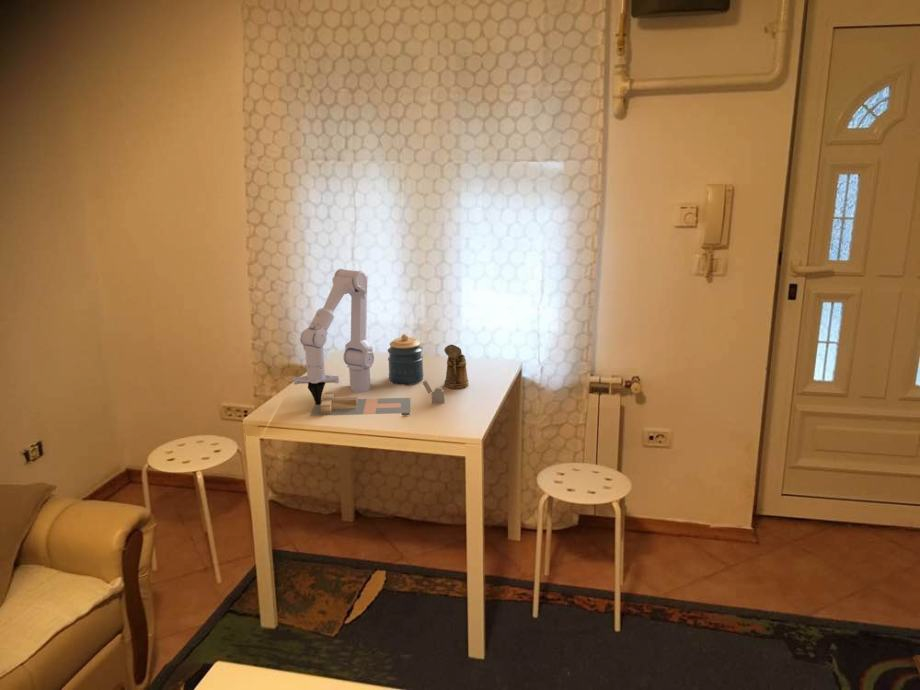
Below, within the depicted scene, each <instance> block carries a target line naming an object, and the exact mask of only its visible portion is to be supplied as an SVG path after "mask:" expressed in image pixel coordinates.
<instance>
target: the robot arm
mask: <svg viewBox="0 0 920 690" xmlns="http://www.w3.org/2000/svg"><path fill="white" fill-rule="evenodd" d="M344 295H349V296H350V298H351V300H350V301H351V306H350V318H351V319H350V341H348V342H347V343H346V344H345V345H344V347H345V348H344V352H343V355H342V356H343V362H344V363H345V364H346V365H347V368H348V371H349V387H350V391H351V392H356V393H363V392H367V391H371V387H372V386H374V384H373V383H371V371H370V370H371V369H370V368H371V367H372V366H373V365H374V361H375V355H374V351H373V350H374V349H373V346H372V344H370V343H369V342H368V340H367V325H368V324H367V320H368V319H367V318H368V317H367V316H368V315H367V314H368V276H367V275H366V273H365V272H364V271H362V270H354V269H353V270H352V269H351V270H350V269H343V268H339V269H337V270H335V273H334V274H333V277H332V287H331V289H330V292H329V294H328V296H327V298H326V301H325V303H324V306H323V307H322V308H319V309H318V310H317V311H316V312H315V315H314V317H313V319H312V320H311V322H310V323H309V326H308V327H307V328H306V329H304V330H303V331H302V332H301V335H300V338H299V342H300V343H301V345H302V346H303V350H304V351H305V363H306V366H305V367H306V375H302V376H294V377H293V385H295V386H296V385H298V384H299V385H300V384H301V385H302V384H303V385H304V384H308V385H307V388H308V390H309V392H310V393H311V396H312V398H313V399H314V404H315V403H316V405H320V404H321V400H322V396H323V391H324V388H325V385H326V384H339V383H340V376H339V375H328V374H326V371H325V369H326V368H325V357H324V346H325V344H326V343H327V337H328V336H327V335H328V330H329V328H330V326H331V325H332V322H333V320H334V318H335V316H334V312H335V310H336V308H337V306H338V305H339V303H340V302H341V300H342V299H343V298H344Z"/></svg>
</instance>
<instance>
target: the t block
mask: <svg viewBox="0 0 920 690" xmlns="http://www.w3.org/2000/svg"><path fill="white" fill-rule="evenodd" d="M357 399H358V396H336V394H335V392H325V394H324V396H323V399H322V400H323V401H322V403H321V414H331V411H332V409H346V408H357V405H358V404H357Z"/></svg>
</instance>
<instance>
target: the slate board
mask: <svg viewBox="0 0 920 690" xmlns="http://www.w3.org/2000/svg"><path fill="white" fill-rule="evenodd" d="M322 401H323V399H321V403H322ZM357 404H358V405H357V408H346V409H332V411H331V414H321V404H320V405H316V403H315V402H314V405H313V408H312V410H311V411H310V412H311V413H310V414H309V417H315V416H316V417H317V416H320V417H321V416H349V415H350V416H353V415H382V414H383V415H385V414H388V415H389V414H401V415H409V416H410V413H411V397H390V398H389V397H385V398H357Z"/></svg>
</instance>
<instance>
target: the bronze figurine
mask: <svg viewBox="0 0 920 690" xmlns="http://www.w3.org/2000/svg"><path fill="white" fill-rule="evenodd" d="M444 353H445V355H446V356H448V357H447V359H446V366H447V367H446V374H445V380H444V387H445V388H447V389H451V390H460V389H462V388H463V389H466V388H468V387H469V379H468V372H467V366H466V365H467V360H466V358H465V357H466V356H465V354H462V353H463V352H462V349H461V348H460V347H459V346H457V345H454V344H449V345H446V346H445V348H444Z"/></svg>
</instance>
